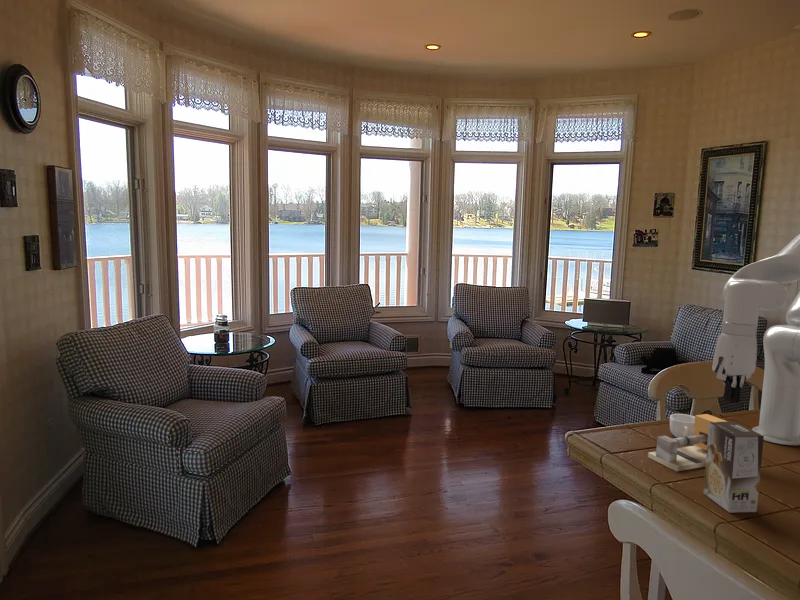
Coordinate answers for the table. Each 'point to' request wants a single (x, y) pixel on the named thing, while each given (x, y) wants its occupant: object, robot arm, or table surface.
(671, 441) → the pipe stand
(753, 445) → the coffee box
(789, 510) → the table surface
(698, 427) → the collar
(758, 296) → the robot arm
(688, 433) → the teacup
